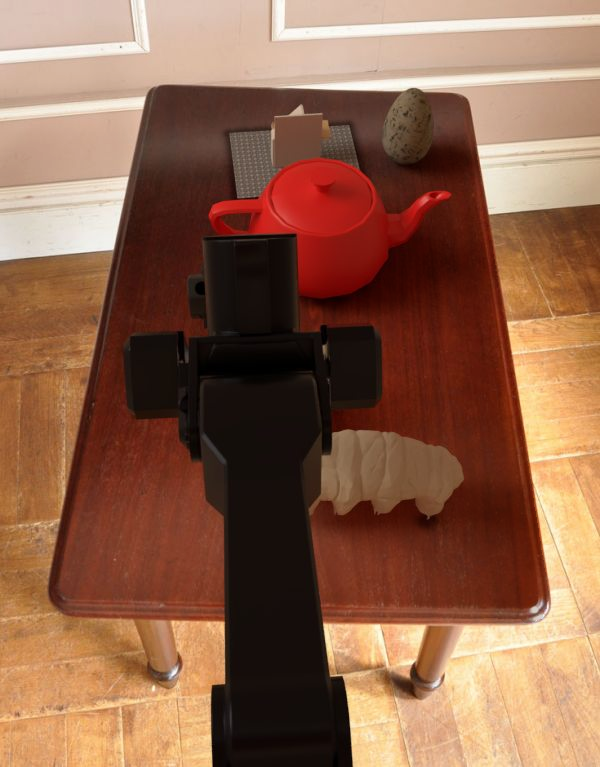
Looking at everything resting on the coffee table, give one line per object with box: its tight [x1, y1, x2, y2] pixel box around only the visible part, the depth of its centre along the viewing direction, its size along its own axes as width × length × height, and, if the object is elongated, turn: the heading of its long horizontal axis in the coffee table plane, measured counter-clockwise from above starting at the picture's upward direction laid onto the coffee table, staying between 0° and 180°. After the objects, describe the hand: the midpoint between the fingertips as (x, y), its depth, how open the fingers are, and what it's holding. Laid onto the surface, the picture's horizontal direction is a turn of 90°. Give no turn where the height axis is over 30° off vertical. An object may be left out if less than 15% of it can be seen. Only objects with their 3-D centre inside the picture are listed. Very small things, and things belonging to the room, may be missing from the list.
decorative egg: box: [381, 87, 435, 166], centre depth 100 cm, size 6×6×10 cm
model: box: [309, 429, 465, 520], centre depth 75 cm, size 7×18×10 cm, turn 90°
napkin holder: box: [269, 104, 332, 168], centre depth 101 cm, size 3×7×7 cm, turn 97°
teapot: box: [207, 158, 452, 299], centre depth 90 cm, size 25×16×12 cm, turn 92°
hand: (252, 352), depth 72 cm, fingers open, 9 cm apart
